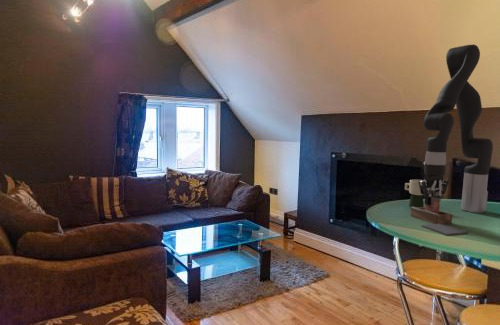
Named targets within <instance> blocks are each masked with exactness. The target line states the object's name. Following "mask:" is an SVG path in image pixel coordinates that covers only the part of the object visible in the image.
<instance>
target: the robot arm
mask: <svg viewBox="0 0 500 325" xmlns="http://www.w3.org/2000/svg"><path fill="white" fill-rule="evenodd" d="M480 56H481V50H480V48H479V46H478V45H476V44H467V45H461V46H455V47H453V48H452V47H451V48H450V49H448V50H447V52H446V55H445V59H446V66H447V69H448V73H449V78H450V79H449V80H448V81H447V82H446V83H445V84H444V85H443V86H442V88H441V90H440V91H439V93H438V95H437V98H436V101H435V103H434V104H433V105H432V106H431V108H430V109H429V110H428V111H427V113H426V114H425V116H424V118H423V127H424V128H425V130H426V131H430V132H431V131H433V132H434V131H435V132H436V131H437V132H438V134H437V135H436V136H431V137H430V136H429V137H428V138H427V140H426V150H425V157H424V169H423V170H424V172H423V173H424V175H425V176H424V179H421V180H422V181H419V182H418V183H419V187H420V192H421V194H423V195H422V196H424V206H425V205H427V206H430V205H431V194H432V191H435V192H438V193H439V196H437V197H438V198H440V199H441V196H442V195H445V194H446V192H447V188H448V186H449V182H450V180H448V179H444V176H445V175H446V167H447V144H448V140H449V137H450V135H451V132H452V129H453V127H454V124H455V118H454V116H453V115H452V114H451V113H450V112H452V111H453V110H455V108H456V111H457V115H458V116H457V117H458V121H459V128H460V139H461V140H460V142H461V150H462V155H463V156H464V157H466V158H468V159H477V162H476V163H474V164H470V165H467V166H464V172H463V183H462V191H461V192H462V194H461V205H460V210H462V211H465V212H470V213H477V214H478V213H479V214H481V213H485V212H486V211H487V206H488V196H489V195H488V194H489V191H488V190H487V189H488V181H489V172H490V169H491V165H492V163H491V162H492V155H493V150H494V145H493V141H492V140H491V139H489V138H485V137H484V138H481V137H479V138H478V137H474V126H475V125H476V123H477V121H478V120H479V118H480V116H481V114H482V112H483V108H482V107H483V106H482V100H481V95H480V93H479V92H478V90H476V89H475V88H474V86H473V85H472V84H470V82H469V81H468V80H469V79H470V77H471V75H472V74H473V72H474V71H475V69H476V67H477V65H478V64H479V60H480ZM429 188H430V189H429ZM428 191H429V193H428Z"/></svg>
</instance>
